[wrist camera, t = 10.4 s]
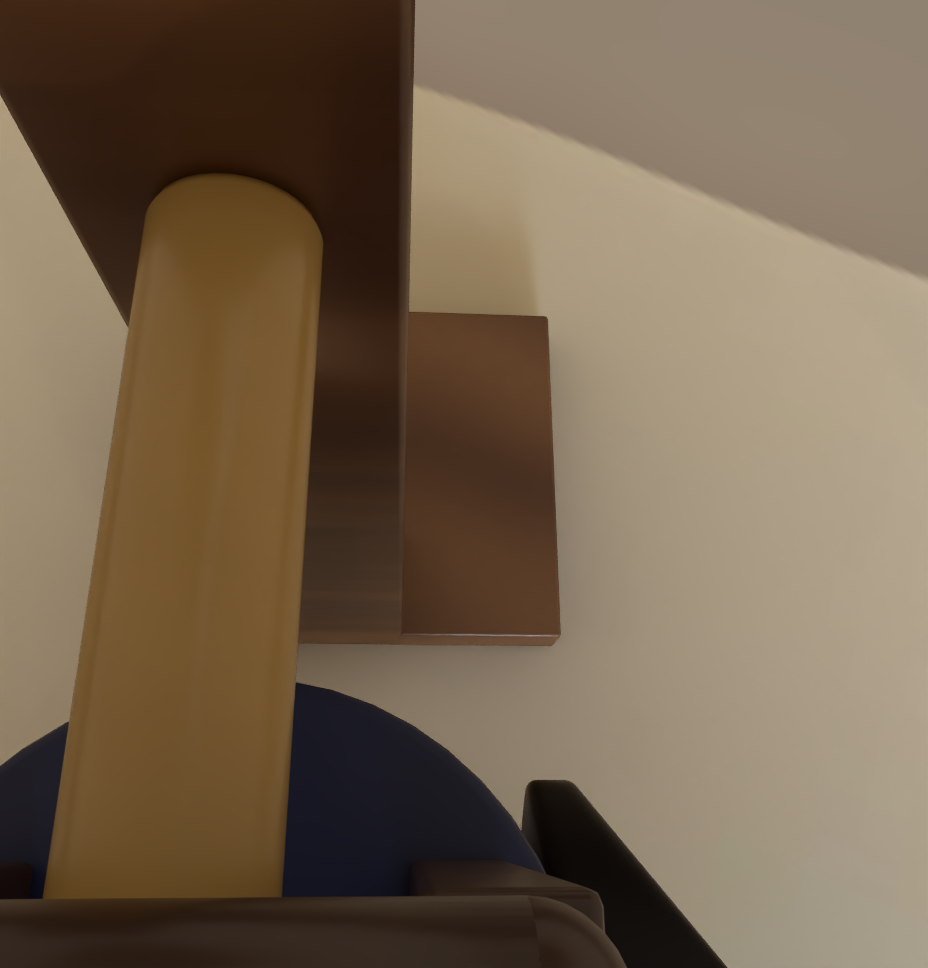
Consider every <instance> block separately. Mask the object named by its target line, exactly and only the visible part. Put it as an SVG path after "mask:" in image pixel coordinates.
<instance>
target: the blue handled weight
mask: <svg viewBox="0 0 928 968" xmlns="http://www.w3.org/2000/svg"><path fill="white" fill-rule="evenodd" d="M68 727H69V722H67V723H65V724H63V725H62V726H60V727H58V728H57V729H55V730H53V731H52V732H50V733H48V734H47V735H45V736H43V737H42V738H40V739H38V740H37V741H35V742H33V743H32V744H30V745H28V746H27V747H25V748H23V749H22V750H21V751H19V752H18V753H17V754H15V755H14V756H13V757H11V758H10V759H9V760H8V761H6V762H5V763H4V764H2V765H1V766H0V968H627V967H626V965H625V963H624V961H623V959H622V957H621V955H620V953H619V951H618V949H617V948H616V947H615V945H614V944H613V943H612V942H611V940H610V939H609V938H608V936H607V935H606V934H605V923H604V906H603V904H602V901H601V899H600V897H599V894H598V892H595V891H593V890H591V889H589V888H586V887H584V886H581V885H578V884H574V883H571V882H568V881H565V880H562V879H559V878H556V877H553V876H550V875H546V873H545V870H544V868H543V866H542V864H541V862H540V860H539V858H538V857H537V855H536V853H535V852H534V850H533V849H532V847H531V846H530V844H529V843H528V841H527V839H526V838H525V836H524V835H523V833H522V832H521V830H520V829H519V827H518V825H517V824H516V822H515V821H514V819H513V818H512V816H511V815H510V814H509V813H508V812H507V810H506V809H505V808H504V807H503V806H502V804H501V803H500V802H499V801H498V800H497V799H496V797H495V796H494V795H493V794H492V793H491V791H490V790H489V789H488V788H487V787H486V785H485V784H484V783H483V782H482V781H481V780H480V779H479V778H478V777H477V776H476V775H475V774H474V773H472V772H471V771H470V770H469V769H468V768H467V767H466V766H465V765H464V764H463V763H462V762H461V761H459V760H458V759H457V758H456V757H455V756H454V755H453V754H452V753H451V752H450V751H449V750H447V749H446V748H444V747H443V746H441V745H440V744H439V743H437V742H436V741H434V740H433V739H431V738H430V737H429V736H427V735H426V734H424V733H423V732H421V731H420V730H419V729H417V728H416V727H414V726H413V725H411V724H409V723H407V722H406V721H404V720H402V719H400V718H398V717H396V716H394V715H392V714H390V713H388V712H386V711H384V710H382V709H380V708H378V707H377V706H375V705H373V704H370V703H367V702H364V701H361V700H358V699H356V698H353V697H350V696H347V695H344V694H342V693H339V692H336V691H333V690H330V689H325V688H320V687H315V686H310V685H306V684H301V683H296V684H295V699H294V715H293V730H292V746H291V762H290V777H289V793H288V809H287V824H286V840H285V856H284V871H283V887H282V897H228V898H94V899H43V893H44V886H45V879H46V873H47V866H48V859H49V853H50V846H51V840H52V833H53V826H54V820H55V813H56V806H57V800H58V793H59V786H60V780H61V773H62V766H63V760H64V753H65V747H66V740H67V733H68Z"/></svg>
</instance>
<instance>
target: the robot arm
mask: <svg viewBox="0 0 928 968" xmlns="http://www.w3.org/2000/svg"><path fill="white" fill-rule="evenodd" d="M521 832H522V833H523V835H524V836H525V838H526V839H527V841H528V843H529V844H530V846H531V847H532V849H533V850H534V852H535V853H536V855H537V857H538V858H539V860H540V862H541V864H542V866H543V868H544V870H545V873H546V875H550V876H553V877H556V878H559V879H562V880H565V881H568V882H571V883H574V884H578V885H581V886H584V887H586V888H589V889H591V890H593V891H595V892H598V894H599V897H600V899H601V901H602V904H603V906H604V923H605V934H606V935H607V936H608V938H609V939H610V940H611V942H612V943H613V944H614V945H615V947H616V948H617V949H618V951H619V953H620V955H621V957H622V959H623V961H624V963H625V965H626V967H627V968H727V966H726V965H725V964H724V963H723V962H722V960H721V959H720V958H719V957H718V956H717V954H716V953H715V952H714V951H713V950H712V948H711V947H710V946H709V945H708V944H707V942H706V941H705V940H704V939H703V938H702V936H701V935H700V934H699V933H698V932H697V930H696V929H695V928H694V927H693V926H692V924H691V923H690V922H689V921H688V920H687V918H686V917H685V916H684V915H683V914H682V912H681V911H680V910H679V909H678V908H677V906H676V905H675V904H674V903H673V902H672V900H671V899H670V898H669V897H668V896H667V894H666V893H665V892H664V891H663V890H662V888H661V887H660V886H659V885H658V884H657V882H656V881H655V880H654V879H653V878H652V876H651V875H650V874H649V873H648V872H647V870H646V869H645V868H644V867H643V866H642V864H641V863H640V862H639V861H638V860H637V858H636V857H635V856H634V855H633V854H632V852H631V851H630V850H629V849H628V848H627V846H626V845H625V844H624V843H623V842H622V840H621V839H620V838H619V837H618V836H617V834H616V833H615V832H614V831H613V830H612V828H611V827H610V826H609V825H608V824H607V822H606V821H605V820H604V819H603V818H602V816H601V815H600V814H599V813H598V812H597V810H596V809H595V808H594V807H593V806H592V804H591V803H590V802H589V801H588V800H587V798H586V797H585V796H584V795H583V794H582V792H581V791H580V790H579V789H578V788H577V787H576V785H575V784H573V783H572V782H570V781H567V780H533V781H531V782H530V783H529V784H528V785H527V787H526V790H525V798H524V809H523V819H522V830H521Z"/></svg>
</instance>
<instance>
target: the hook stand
mask: <svg viewBox="0 0 928 968" xmlns="http://www.w3.org/2000/svg"><path fill="white" fill-rule="evenodd" d="M414 24H415V0H0V95H1V97H2V99H3V101H4V102H5V104H6V106H7V108H8V110H9V112H10V113H11V115H12V117H13V119H14V121H15V122H16V124H17V126H18V128H19V130H20V132H21V133H22V135H23V137H24V139H25V141H26V142H27V144H28V146H29V148H30V150H31V152H32V153H33V155H34V157H35V159H36V161H37V163H38V164H39V166H40V168H41V170H42V172H43V173H44V175H45V177H46V179H47V181H48V183H49V184H50V186H51V188H52V190H53V192H54V194H55V195H56V197H57V199H58V201H59V203H60V204H61V206H62V208H63V210H64V212H65V214H66V215H67V217H68V219H69V221H70V223H71V224H72V226H73V228H74V230H75V232H76V234H77V235H78V237H79V239H80V241H81V243H82V245H83V246H84V248H85V250H86V252H87V254H88V255H89V257H90V259H91V261H92V263H93V265H94V266H95V268H96V270H97V272H98V274H99V276H100V277H101V279H102V281H103V283H104V285H105V286H106V288H107V290H108V292H109V294H110V296H111V297H112V299H113V301H114V303H115V305H116V306H117V308H118V310H119V312H120V314H121V316H122V317H123V319H124V321H125V323H126V325H127V327H128V335H127V341H126V348H125V355H124V361H123V368H122V374H121V381H120V388H119V394H118V401H117V408H116V414H115V421H114V428H113V434H112V441H111V448H110V454H109V461H108V467H107V474H106V481H105V487H104V494H103V501H102V507H101V514H100V521H99V527H98V534H97V541H96V547H95V554H94V561H93V567H92V574H91V580H90V587H89V594H88V600H87V607H86V614H85V620H84V627H83V634H82V640H81V647H80V654H79V660H78V667H77V673H76V680H75V687H74V693H73V700H72V707H71V713H70V720H69V727H68V733H67V740H66V747H65V753H64V760H63V766H62V773H61V780H60V786H59V793H58V800H57V806H56V813H55V820H54V826H53V833H52V840H51V846H50V853H49V859H48V866H47V873H46V879H45V886H44V893H43V899H94V898H228V897H282V887H283V871H284V856H285V840H286V824H287V809H288V793H289V777H290V762H291V746H292V730H293V715H294V699H295V684H296V668H297V652H298V643H319V644H415V645H511V646H551V645H553V644H554V643H555V641H556V640H557V639H558V638H559V637H560V635H561V630H560V605H559V581H558V556H557V532H556V508H555V483H554V459H553V434H552V410H551V386H550V361H549V337H548V319H547V317H545V316H516V315H487V314H458V313H429V312H409V283H410V231H411V180H412V129H413V77H414V26H415V25H414Z"/></svg>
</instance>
